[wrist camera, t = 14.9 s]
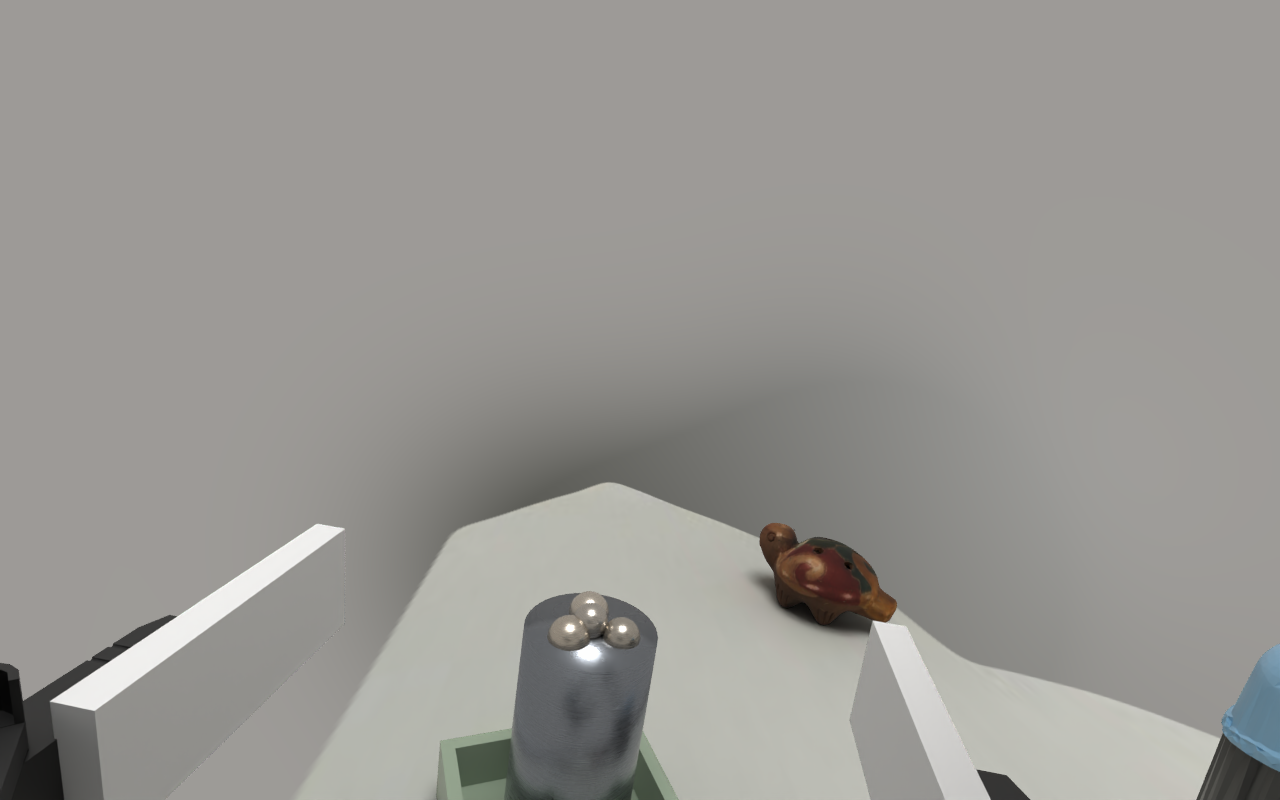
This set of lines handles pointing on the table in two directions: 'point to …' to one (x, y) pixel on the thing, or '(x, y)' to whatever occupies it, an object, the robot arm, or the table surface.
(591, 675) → the can
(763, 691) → the table surface
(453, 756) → the bin
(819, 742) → the table surface
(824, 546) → the decorative turtle
